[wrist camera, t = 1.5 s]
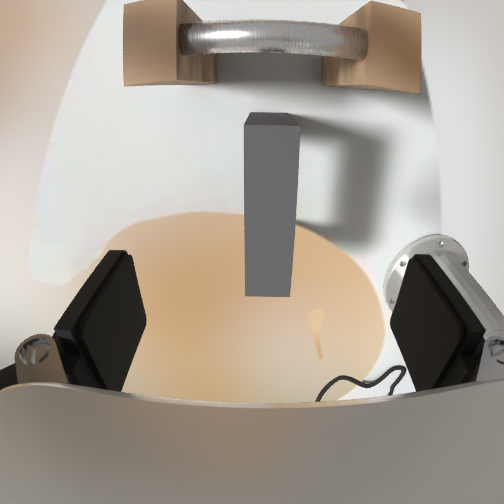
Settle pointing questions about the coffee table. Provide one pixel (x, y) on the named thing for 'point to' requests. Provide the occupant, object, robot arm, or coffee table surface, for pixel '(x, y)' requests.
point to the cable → (344, 377)
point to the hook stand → (272, 45)
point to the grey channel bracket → (270, 202)
